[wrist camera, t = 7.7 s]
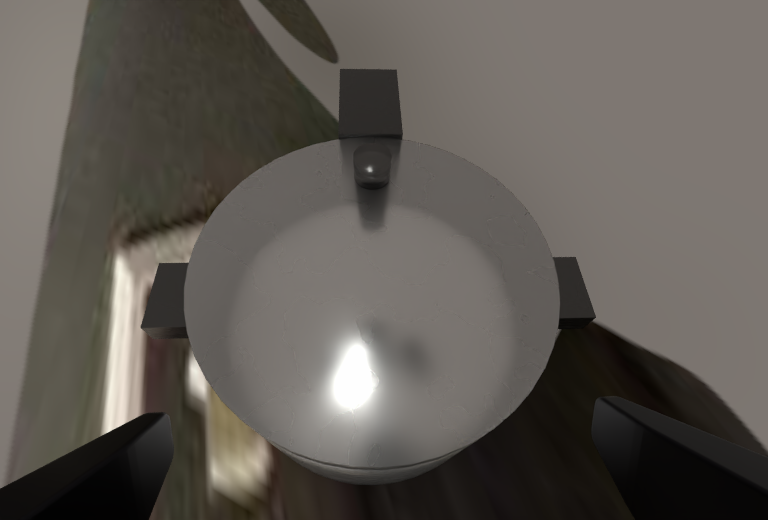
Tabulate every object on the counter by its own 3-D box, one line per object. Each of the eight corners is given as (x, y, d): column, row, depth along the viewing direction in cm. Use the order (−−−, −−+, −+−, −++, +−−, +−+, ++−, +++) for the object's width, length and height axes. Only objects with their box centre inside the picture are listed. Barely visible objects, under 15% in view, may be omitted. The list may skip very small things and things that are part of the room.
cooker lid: (597, 460, 13) (636, 451, 11) (151, 480, 12) (113, 473, 11) (491, 90, 23) (502, 53, 21) (240, 88, 23) (229, 49, 21)
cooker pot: (571, 476, 20) (661, 459, 14) (170, 494, 19) (78, 484, 13) (510, 235, 27) (552, 156, 21) (221, 239, 26) (178, 157, 20)
